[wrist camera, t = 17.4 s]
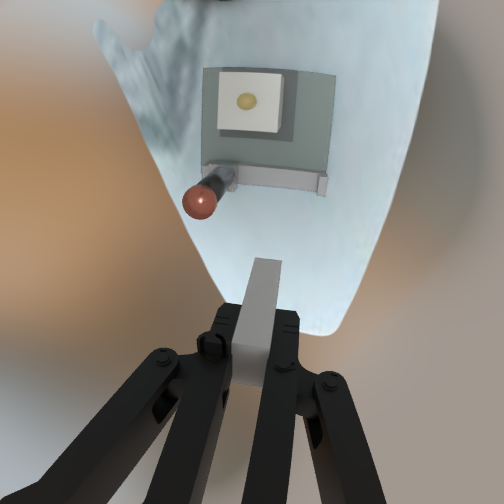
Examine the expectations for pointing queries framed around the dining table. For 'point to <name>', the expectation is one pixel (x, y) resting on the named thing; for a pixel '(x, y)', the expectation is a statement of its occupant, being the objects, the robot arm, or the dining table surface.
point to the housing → (250, 101)
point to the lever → (210, 189)
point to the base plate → (275, 144)
